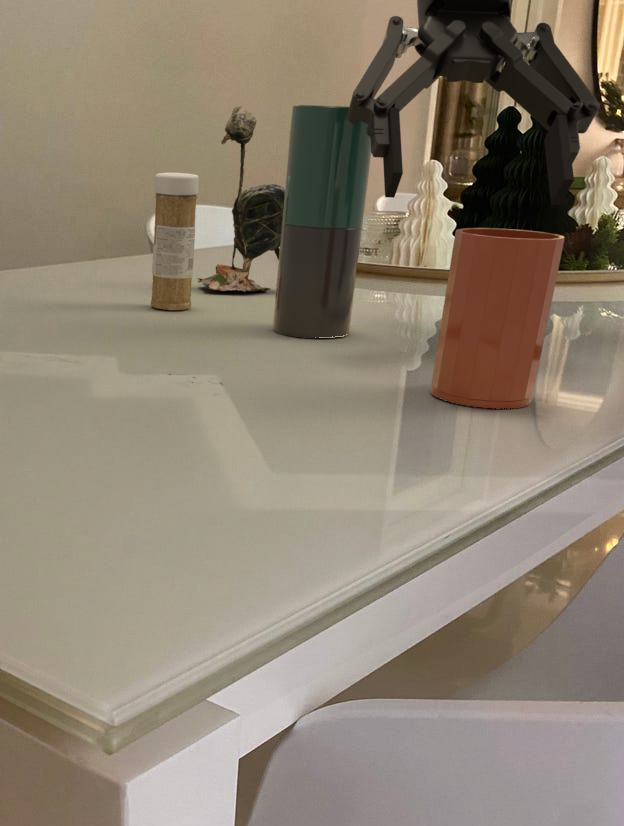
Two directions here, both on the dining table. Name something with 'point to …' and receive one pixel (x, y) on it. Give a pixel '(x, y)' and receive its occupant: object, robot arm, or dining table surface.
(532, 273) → the terracotta cup
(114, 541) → the dining table surface
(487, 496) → the dining table surface
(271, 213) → the plant with pod
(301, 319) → the cup stack
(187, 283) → the brown spice jar
